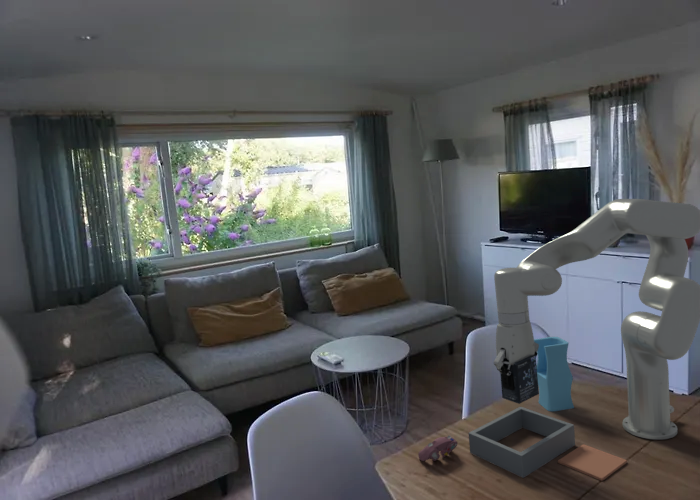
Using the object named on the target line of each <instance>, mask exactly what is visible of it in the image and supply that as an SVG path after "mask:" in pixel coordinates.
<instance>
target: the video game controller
mask: <svg viewBox="0 0 700 500" xmlns="http://www.w3.org/2000/svg"><path fill="white" fill-rule="evenodd" d="M457 446H458V441H457V440H456V439H455V438H454V437H452V436H451V435H447V436H440V437H437V438H435V439H434V440H433V441H432V442H429V443H428V444H426V446H424V448H422V449H421V450H420V451H419V452H418V454H417V455H418V458H419V460H420V461H422V462H425V461H427V460H432V461H433V462H436V461H437V460H439V458H441V457H443V458H445V457H447V456H448V455H449V454H450V453H452V451H453V450H455V449H456V448H457ZM440 454H441V455H440ZM440 456H441V457H440Z"/></svg>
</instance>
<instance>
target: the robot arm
mask: <svg viewBox="0 0 700 500" xmlns="http://www.w3.org/2000/svg"><path fill="white" fill-rule="evenodd" d="M699 233H700V209H699V207H697V206H695V205H693V204H690V203H684V202H683V203H682V202H674V201H673V202H672V201H671V202H670V201H661V200H660V201H659V200H652V199H643V198H617V199H613V200H611V201H609V202H607V203H606V204H605V205H603V206H602V207H601V208H600V209H598V210H597V211H596V212H595V213H593V214H592V215H590V217H588V218H587V219H586V220H585V221H583V222H582V223H581V224H579V225H578V226H577V227H576V228H574V229H573V230H571V231H570V232H568V233H566V234H564V235H561V236H559V237H557V238H555V239H553V240H552V241H549V242H547V243H545V244H544V245H543V244H542V246H540V247H538V248H537V249H536V250H535V251H533V252H531V254H528V256H527V257H525V258H524V259H523V260H521V262H519V264H518V265H517V266H516V267H504V268H500V269H497V270H496V271H495V272H494V275H493V278H494V289H495V298H496V299H495V300H496V307H497V308H496V309H497V310H496V311H497V320H498V324H496V330H495V331H496V332H495V352H496V357H495V358H494V360H493V365H494V367H496V370H497V371H498V372H499V374H500V373H501V374H502V383H503V388H506V389H509V390H512V391H513V390H514V389H515V388H514V376H513V375H512V374H511V373H512V365H514V363H516V362H518V361H521V360H523V359H525V358H527V357H530V356H532V355H535V356H536V357H538V355H537V351H538V348H539V344H537V343H535V342H534V339H535V338H534V331H533V328H532V323H531V320H530V312H529V311H530V310H529V309H530V308H529V299H528V297H530V296H531V297H532V296H533V297H534V296H535V297H537V296H539V297H540V296H541V297H544V296H551V295H553V294H555V293H557V291H559V289H560V288H561V286H562V283H563V278H562V275H561V273H560V272H559V271H558V269H559V268H560V267H563V266H566V265H568V264H572V263H576V262H583V261H587V260H590V259H594V258H596V257H597V256H599V255H600V254H602V252H604V251H605V250H606V249H607V248H609V247H610V246H611V245H612V244H615V242H616V241H618V240H619V239H621V238H622V237H623V236H624V235H626V234H630V235H631V234H632V235H643V236H646V238H647V240H648V243H649V251H650V252H649V257H648V261H647V264H646V267H645V271H644V273H643V276H642V280H641V282H640V285H639V290H638V299H639V300H640V301H641V303H642V304H643V305H645V306H647V307H648V308H651V309H653V310H656V311H660V312H661V314H660V315H658V314H655V313H651V312H647V311H634V312H631V313H628V314H627V315H626V316H625V317H624V319H623V320H622V323H621V326H620V332H621V333H620V334H621V340H622V343H623V348H624V353H625V360H626V363H625V365H626V384H627V385H626V386H627V404H628V405H627V406H628V407H627V408H628V409H627V410H628V415H627V416H626V417H625V418H623V420H622V427H623V429H624V430H625V431H626V432H628V433H629V434H631V435H633V436H636V437H639V438H642V439H647V440H657V441H658V440H660V441H662V440H668V439H669V440H670V439H671V438H674V437H676V436H677V434H678V426H677V425H676V424H675V423H674V422H673V421H671V414H672V413H674V411H675V407H674V406H673V405H671V404H670V402H671V401H670V382H669V381H670V380H669V379H670V376H669V375H670V373H669V363H668V361H675V360H676V361H677V360H679V359H681V358H683V357H684V356H685V355H686V354H687V353H688V352H689V351H690V349H691V346H692V344H693V342H694V339H695V337H696V333H697V330H698V327H699V324H700V283H698V282H697V281H696V280H694V279H691V278H688V277H685V274H686V269H687V267H688V263H689V262H688V261H689V249H688V247H689V246H688V244H687V241H686V239H691V238H693V237H695V236H696V235H698V234H699ZM505 360H509V362H507V361H505ZM505 364H508V365H509V366H508V369H506V368H505Z"/></svg>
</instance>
